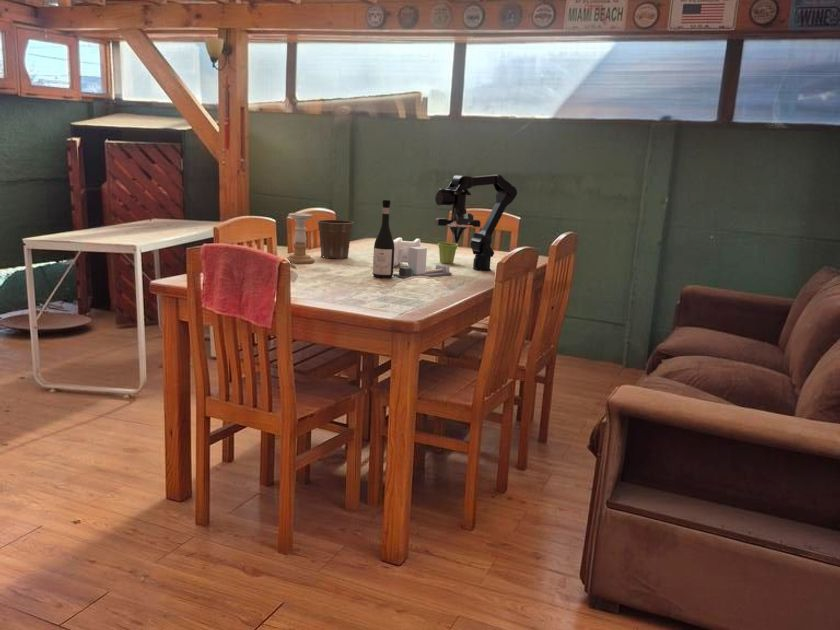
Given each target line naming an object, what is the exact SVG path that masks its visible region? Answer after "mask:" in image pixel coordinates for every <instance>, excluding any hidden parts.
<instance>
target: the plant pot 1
mask: <svg viewBox="0 0 840 630" xmlns="http://www.w3.org/2000/svg"><path fill="white" fill-rule="evenodd" d="M316 221H317V225H318V231H319V243H320V244H319V245H320V256H321V257H322V256H324V257H328V258H327V259H331V258H333V259H334V258H336V259H339V258H342V259H347V258H349V251H350V242H351V233H352V230H353V225H354V223H355V222H354V221H350V220H345V219H344V220H342V219H341V220H340V219H321V220H320V219H318V220H316ZM324 257H323V258H324Z"/></svg>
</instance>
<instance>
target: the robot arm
mask: <svg viewBox="0 0 840 630" xmlns="http://www.w3.org/2000/svg"><path fill="white" fill-rule="evenodd" d="M488 185H493V189H494V191H496V194H495V204H494V205H493V207H492V209H491V211H490V213H489V215H488V217H487V219H486V221H485V223H484V225H483V227H482V229H481V230H480V231H479V232H474V233H473V236H472V238H471V239H470V241H471V242H470V249H471V250H472V254H473V255H474V258H473V264H472V269H474V268H475V269H474V270H476V269H477V270H476V271H492V269H491V258H492V257H494V254H495V251H494V250H493V249H492V247H491V244H492V235H493V234H494V232H495V229H496V228H497V226H498V223H499V222H500V220H501V218H502V216H503V214H504V212H505V210H506V208H507V207H508V206H509V205H510V204H511V203H513V201H514V200H515V199H516V197H517V195H518V190H517V188H516V187H515V186H513V185H512V184H511V183H510V182H509V181H508V180H506V179H505V178H504V177H503V175H501V174H495V173H494V174H490V175H489V174H488V175H477V176H469V175H468V176H467V175H460V174H455V175H453V177H452V179H451V181H450V183H449V185H448V186H447V187H446V188H439V189H438V192H437V193H436V195H435V198H434V199H435V204H436V205H437V206H446V207H447V206H451V208H450V210H451V216H450V219H448V218H445V217H436V218H435V219H434V225H435V226H441V227H445V226H446V227H447V228H449V229H450V231H451V234H452V237H453V240H454V244H458V243H459V241H460V238H461V235H462V233H463V232H464V231H465V230H467V229H468V227H467V226H472V227H475V228H480V227H481V224H482V223H481V220H479V219H476V218H474V213H467V208H466V206H467V196H471V195H472V193H471V192H470V191H469V189H472V188H474V187H478V186H488Z"/></svg>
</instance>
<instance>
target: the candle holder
mask: <svg viewBox="0 0 840 630" xmlns="http://www.w3.org/2000/svg"><path fill="white" fill-rule="evenodd" d="M288 217H289V218H293V220H294V222H295V223H296V225H295V227H294V229H295V233H294V237H293V241H294V243H293V245H292V246H293V248H294V250H293V252H294V253H292V254H289V256H286V257H285V258H287V259H288V260H289V261H290V262H293V263H292V264H297V263H308V264H313V263H315V259H314V258H315V257H312V256H311V255H310V254H306V252H307V251H306V249H307V247H308V244H307V243H306V242H307V238H308V237H307V234H306V230H307V227H306V225H305V224H306V223H307V220H308V219H313V217H314V214H313V213H302V212H290V213H288ZM312 262H313V263H312Z"/></svg>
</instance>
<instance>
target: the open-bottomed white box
mask: <svg viewBox="0 0 840 630" xmlns="http://www.w3.org/2000/svg"><path fill="white" fill-rule="evenodd" d="M427 251H428V248H426V247H421V246H420V247H409V261H408V263H407V264H408V265H407V267H408V268H411V269H413V271H414V274H415V275H419V274H425V271H426V270H427V269H426V268H427V267H426V266H427Z"/></svg>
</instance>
